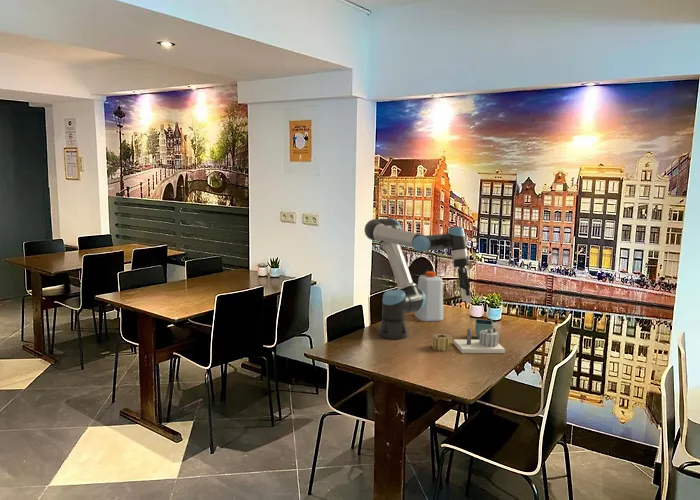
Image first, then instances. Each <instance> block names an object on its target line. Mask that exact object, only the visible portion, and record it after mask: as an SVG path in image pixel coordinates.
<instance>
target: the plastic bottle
mask: <svg viewBox="0 0 700 500" xmlns="http://www.w3.org/2000/svg"><path fill="white" fill-rule="evenodd" d="M443 281H444V280H443V278H442V277H439V276H438V275H437V272H436V271H430V270H427V271H426V272H425V275H424V274H423V275H420V276H419V277H418V281H417V286H418V289H420V290H422V291H423V292H424V294H425V296H426V303H425V305H424V307H423V308H422V309H421V310H419V311H416V312H414V317H415V318H417V320H418V321H421V322H441V321H443V319H444V285H443Z"/></svg>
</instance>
